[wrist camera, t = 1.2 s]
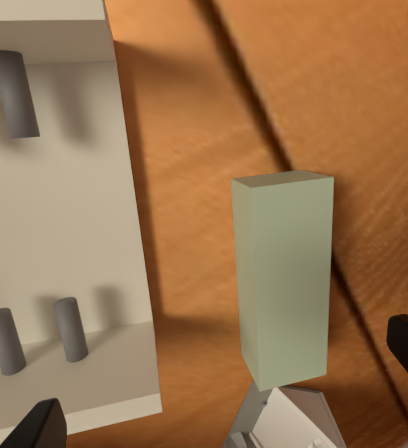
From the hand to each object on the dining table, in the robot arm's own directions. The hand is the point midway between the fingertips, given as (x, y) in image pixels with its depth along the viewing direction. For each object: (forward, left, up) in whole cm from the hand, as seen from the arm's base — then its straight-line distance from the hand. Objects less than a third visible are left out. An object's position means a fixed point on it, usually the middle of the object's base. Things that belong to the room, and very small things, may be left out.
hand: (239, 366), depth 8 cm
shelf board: (-4, -6, -13) cm, 15 cm away
